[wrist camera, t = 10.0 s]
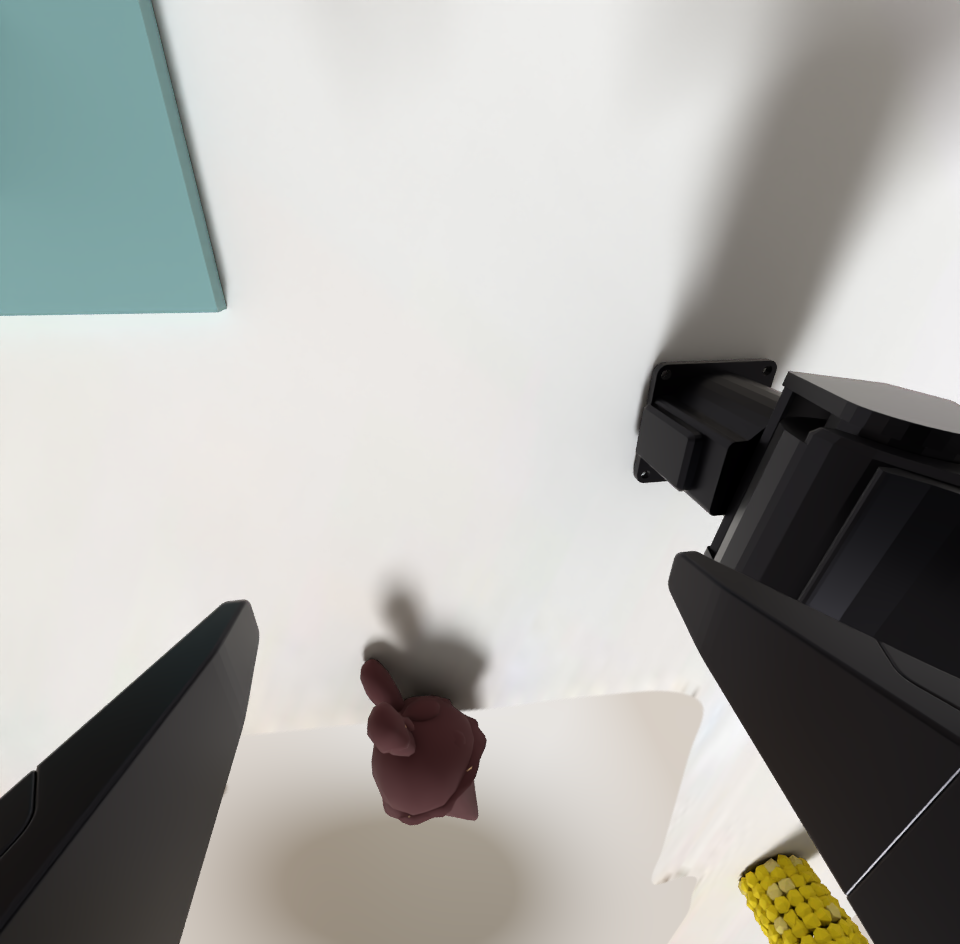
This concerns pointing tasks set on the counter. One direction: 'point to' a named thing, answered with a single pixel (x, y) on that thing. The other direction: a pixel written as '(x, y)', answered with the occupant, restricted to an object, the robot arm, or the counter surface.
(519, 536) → the counter surface
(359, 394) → the counter surface
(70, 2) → the teal board
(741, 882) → the food
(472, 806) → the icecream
